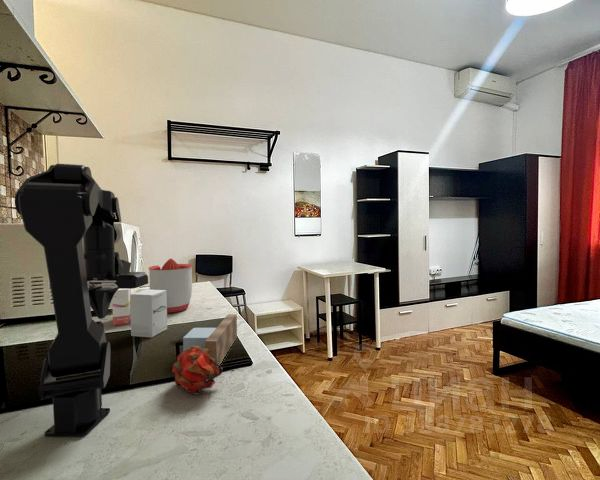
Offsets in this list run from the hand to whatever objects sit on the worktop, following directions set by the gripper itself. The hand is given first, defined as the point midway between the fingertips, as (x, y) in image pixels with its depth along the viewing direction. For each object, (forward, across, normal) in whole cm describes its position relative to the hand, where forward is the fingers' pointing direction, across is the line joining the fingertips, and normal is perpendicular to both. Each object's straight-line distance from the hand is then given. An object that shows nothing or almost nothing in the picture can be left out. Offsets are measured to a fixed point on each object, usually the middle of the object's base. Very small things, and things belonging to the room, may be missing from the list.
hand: (102, 318), depth 67 cm
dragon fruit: (+12, -24, +7) cm, 27 cm away
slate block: (+12, -20, -8) cm, 25 cm away
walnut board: (+12, -24, -9) cm, 29 cm away
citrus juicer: (+12, +7, -50) cm, 52 cm away
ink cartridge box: (+12, +17, -35) cm, 41 cm away
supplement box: (+12, +2, -24) cm, 27 cm away
